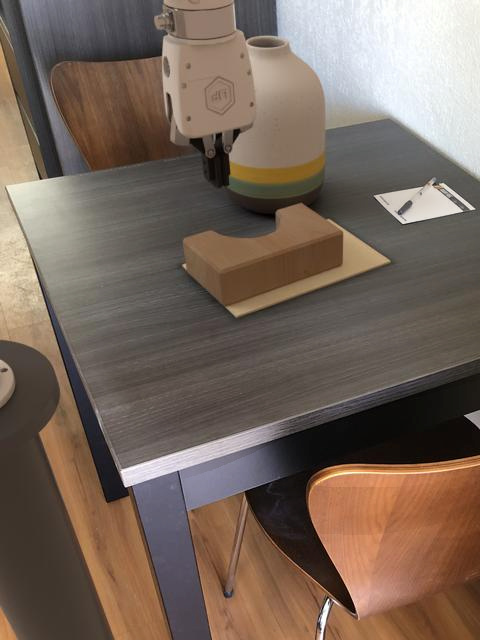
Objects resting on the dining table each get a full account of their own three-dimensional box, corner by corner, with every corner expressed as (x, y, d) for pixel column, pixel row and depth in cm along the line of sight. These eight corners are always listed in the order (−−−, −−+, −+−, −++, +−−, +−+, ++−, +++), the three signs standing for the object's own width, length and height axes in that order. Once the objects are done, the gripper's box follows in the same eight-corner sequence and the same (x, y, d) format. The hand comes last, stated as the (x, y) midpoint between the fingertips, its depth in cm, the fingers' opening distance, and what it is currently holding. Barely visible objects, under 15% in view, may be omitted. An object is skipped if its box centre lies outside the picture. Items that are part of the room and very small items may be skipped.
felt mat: (236, 318, 97) (236, 315, 97) (182, 266, 106) (182, 264, 106) (390, 263, 108) (390, 260, 108) (329, 220, 117) (329, 218, 117)
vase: (249, 172, 130) (238, 20, 113) (338, 187, 126) (341, 32, 109) (206, 214, 118) (187, 51, 102) (303, 231, 114) (300, 65, 98)
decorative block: (180, 237, 100) (301, 201, 109) (186, 274, 104) (302, 236, 113) (219, 270, 94) (345, 229, 102) (224, 308, 98) (344, 265, 106)
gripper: (152, 40, 75) (177, 209, 87) (277, 18, 81) (283, 180, 94) (123, 23, 79) (151, 187, 92) (243, 4, 85) (253, 160, 98)
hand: (218, 183), depth 93 cm, fingers closed
